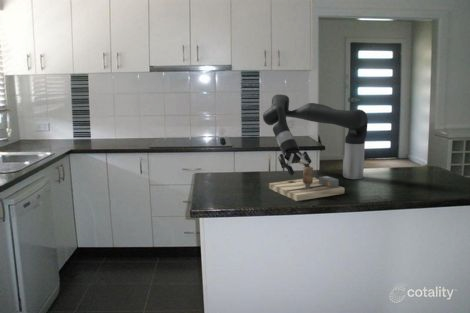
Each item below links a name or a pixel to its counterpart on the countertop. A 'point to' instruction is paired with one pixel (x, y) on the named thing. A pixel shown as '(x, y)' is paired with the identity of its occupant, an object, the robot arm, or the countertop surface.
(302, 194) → the board
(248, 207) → the countertop surface
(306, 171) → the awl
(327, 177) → the block
